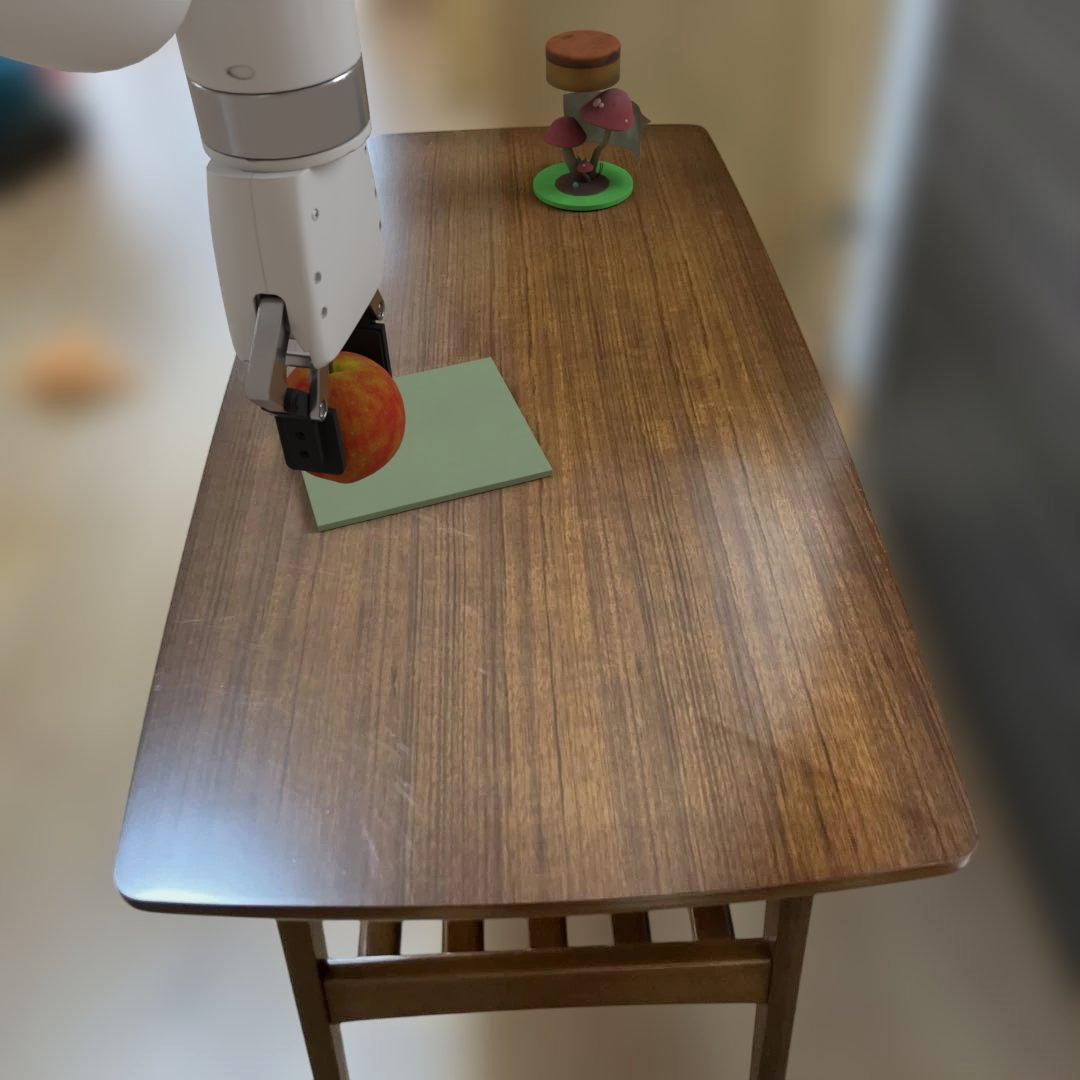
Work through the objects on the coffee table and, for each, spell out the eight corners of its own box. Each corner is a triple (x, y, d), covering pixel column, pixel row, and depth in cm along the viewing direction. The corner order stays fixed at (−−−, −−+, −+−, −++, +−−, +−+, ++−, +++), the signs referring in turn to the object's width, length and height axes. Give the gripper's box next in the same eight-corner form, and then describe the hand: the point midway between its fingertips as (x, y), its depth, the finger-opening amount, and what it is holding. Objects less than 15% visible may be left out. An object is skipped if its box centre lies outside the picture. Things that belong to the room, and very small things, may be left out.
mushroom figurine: (613, 226, 113) (616, 76, 102) (508, 198, 118) (500, 52, 107) (666, 178, 120) (674, 34, 110) (564, 154, 125) (563, 13, 115)
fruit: (389, 515, 61) (370, 395, 55) (269, 499, 62) (238, 380, 56) (427, 436, 65) (412, 319, 60) (315, 423, 67) (291, 306, 61)
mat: (318, 532, 81) (317, 526, 81) (282, 407, 92) (281, 401, 92) (552, 475, 85) (552, 469, 85) (491, 362, 96) (490, 356, 96)
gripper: (276, 28, 56) (332, 331, 68) (108, 187, 44) (213, 521, 56) (420, 35, 55) (450, 343, 67) (289, 202, 42) (355, 540, 55)
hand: (342, 422), depth 61 cm, fingers closed on fruit, 7 cm apart
